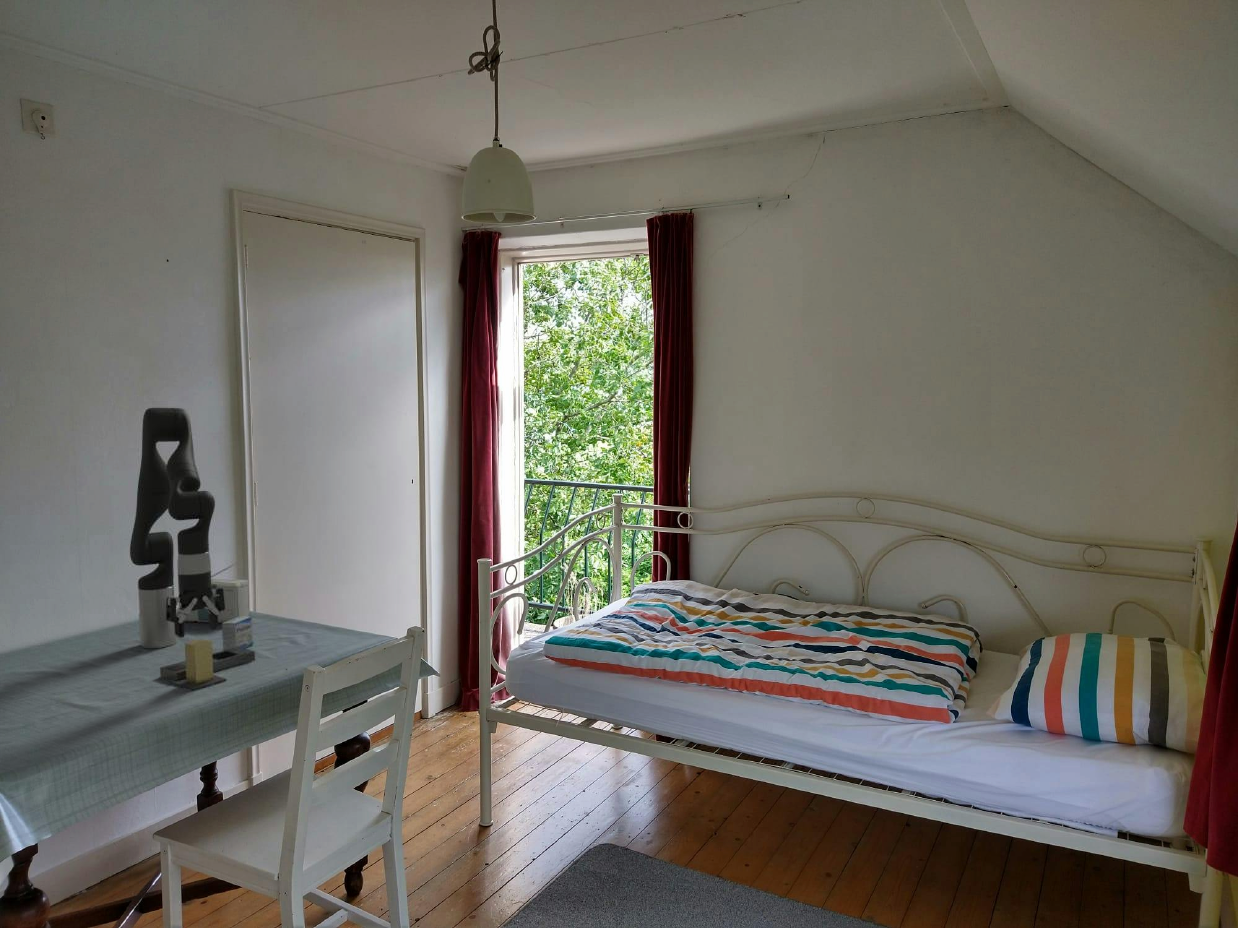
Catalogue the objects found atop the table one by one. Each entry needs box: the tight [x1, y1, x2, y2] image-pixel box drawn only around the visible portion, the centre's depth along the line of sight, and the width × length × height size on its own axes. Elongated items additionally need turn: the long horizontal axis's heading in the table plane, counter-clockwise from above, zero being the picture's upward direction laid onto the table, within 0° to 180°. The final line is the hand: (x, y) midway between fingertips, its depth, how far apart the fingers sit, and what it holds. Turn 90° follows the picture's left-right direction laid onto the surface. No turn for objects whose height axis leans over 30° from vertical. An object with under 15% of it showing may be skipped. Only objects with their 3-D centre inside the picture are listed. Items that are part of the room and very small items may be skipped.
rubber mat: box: [172, 674, 227, 692], centre depth 221 cm, size 9×9×1 cm
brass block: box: [184, 638, 214, 685], centre depth 221 cm, size 4×4×10 cm
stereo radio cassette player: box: [177, 559, 250, 624], centre depth 281 cm, size 21×8×20 cm, turn 80°
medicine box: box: [221, 616, 254, 651], centre depth 250 cm, size 8×4×9 cm, turn 168°
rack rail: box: [159, 647, 256, 682], centre depth 232 cm, size 8×22×3 cm, turn 147°
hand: (197, 632), depth 220 cm, fingers open, 8 cm apart
